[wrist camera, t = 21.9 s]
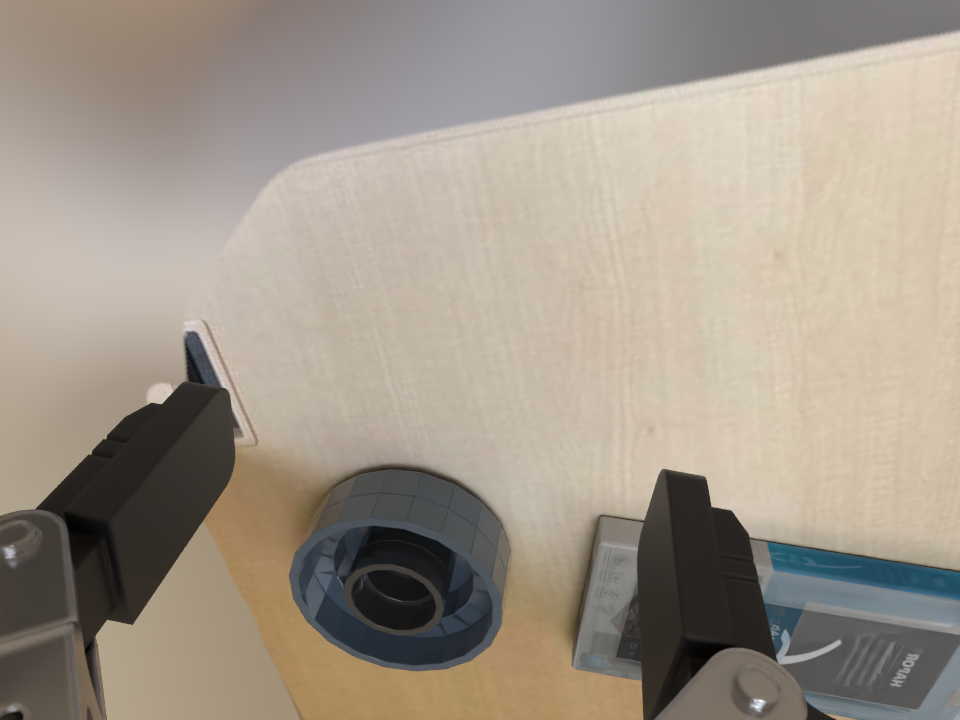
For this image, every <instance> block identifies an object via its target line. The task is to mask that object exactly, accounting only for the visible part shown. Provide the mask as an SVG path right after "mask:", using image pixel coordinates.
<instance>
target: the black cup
mask: <svg viewBox="0 0 960 720" xmlns="http://www.w3.org/2000/svg"><path fill="white" fill-rule="evenodd" d="M455 563H456V562H455V557H454V552H453V551H452V550H451V549H449V548H448V547H446V546H445V545H443V544H442V543H440V542H438V541H436V540H433V539H431V538H428V537H425V536H422V535H419V534H416V533H414V532H411V531H408V530H405V529H398V528H389V527H381V526H372V527H371V528H370V529H369V530H368V531H367V532H366V534H365V535H364V536H363V539H362V541H361V544H360V546H359V549H358V551H357V554H356V556H355V559H354V561H353V564H352V566H351V569H350V571H349V574H348V576H347V579H346V582H345V587H344V592H343V593H344V597H345V600H346V603H347V605H348V607H349V609H350V610H351V611H352V612H353V613H354V614H355V616H356V617H357V618H358V619H359V620H360V621H362V622H364V623H365V624H367V625H369V626H370V627H372V628H374V629H376V630H379V631H382V632H386V633H389V634H393V635H416V634H420V633H423V632H427V631H429V630H431V629H432V628H433V627H434V626H435V625H436V624H438V623H439V622H440V621H441V618H442V615H443V612H444V609H445V604H446V600H447V596H448V592H449V588H450V583H451V579H452V575H453V571H454V567H455Z"/></svg>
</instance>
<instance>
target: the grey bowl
mask: <svg viewBox="0 0 960 720" xmlns="http://www.w3.org/2000/svg"><path fill="white" fill-rule="evenodd" d="M372 526H381V527H389V528H398V529H405V530H408V531H411V532H414V533H416V534H419V535H422V536H425V537H428V538H431V539H433V540H436V541H438V542H440V543H442V544H443V545H445V546H446V547H448V548H449V549H451V550H452V551H453V552H454V557H455V562H456V563H455V567H454V571H453V575H452V579H451V583H450V588H449V592H448V596H447V600H446V604H445V609H444V612H443V615H442V618H441V621H440V622H439V623H438V624H436V625H435V626H434V627H433V628H432V629H431V630H429V631H427V632H423V633H420V634H416V635H393V634H389V633H386V632H382V631H379V630H376V629H374V628H372V627H370V626H369V625H367V624H365V623H364V622H362V621H360V620H359V619H358V618H357V617H356V616H355V614H354V613H353V612H352V611H351V610H350V609H349V607H348V605H347V603H346V600H345V597H344V593H343V592H344V587H345V582H346V579H347V576H348V574H349V571H350V569H351V566H352V564H353V561H354V559H355V556H356V554H357V551H358V549H359V546H360V544H361V541H362V539H363V536H364V535H365V534H366V532H367V531H368V530H369V529H370V528H371V527H372ZM510 555H511V549H510V546H509V543H508V540H507V538H506V535H505V533H504V530H503V528H502V525H501V523H500V522H499V521H498V520H497V519H496V518H495V516H494V515H493V514H492V513H491V512H490V511H489V509H488V508H487V507H486V506H485V505H484V503H483V502H481V501H480V500H479V499H477V498H476V497H474V496H473V495H471V494H470V493H468V492H467V491H465V490H464V489H462V488H461V487H459V486H458V485H456V484H455V485H454V483H451V482H448V481H445V480H443V479H440V478H437V477H434V476H431V475H428V474H426V473H423V472H415V471H405V470H395V469H390V470H389V469H388V470H381V471H375V472H369V473H363V474H360V475H356V476H354V477H353V478H351V479H349V480H347V481H345V482H343V483H341V484H339V485H337V486H335V487H334V488H333V489H332V490H331V491H330V493H329V494H328V495H327V496H326V497H325V498H324V499H323V501H322V502H321V503H320V504H319V506H318V508H317V510H316V512H315V514H314V516H313V518H312V520H311V522H310V524H309V526H308V528H307V530H306V532H305V534H304V536H303V538H302V540H301V542H300V544H299V546H298V548H297V550H296V552H295V555H294V558H293V562H292V566H291V569H290V573H289V579H290V584H291V589H292V595H293V599H294V601H295V603H296V604H297V606H298V608H299V609H300V611H301V613H302V614H303V616H304V618H305V619H306V621H307V622H308V623H309V624H310V625H311V626H312V627H313V628H314V629H316V630H317V631H318V632H319V633H320V634H321V635H322V636H323V637H324V638H325V639H326V640H327V641H328V642H330V643H332V644H333V645H335V646H337V647H338V648H340V649H342V650H344V651H345V652H347V653H349V654H350V655H352V656H354V657H356V658H359V659H362V660H365V661H368V662H371V663H374V664H377V665H379V666H382V667H387V668H394V669H402V670H409V671H428V670H441V669H448V668H451V667H454V666H457V665H460V664H462V663H465V662H468V661H471V660H472V659H474V658H475V657H476V656H477V655H479V654H480V653H481V652H483V651H484V650H485V649H487V648H488V647H489V646H490V645H491V644H492V642H493V640H494V638H495V636H496V635H497V633H498V631H499V629H500V627H501V625H502V620H503V613H504V607H505V600H506V594H507V587H508V580H509V574H510Z"/></svg>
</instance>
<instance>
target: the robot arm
mask: <svg viewBox="0 0 960 720" xmlns="http://www.w3.org/2000/svg"><path fill="white" fill-rule="evenodd" d="M234 463H235V444H234V432H233V421H232V409H231V399H230V394H229V392H228V390H227V389H225V388H220V387H215V386H209V385H204V384H198V383H193V382H183V383H182V384H181V385H179V386H178V388H177V389H176V390H175V391H174V392H173V393H172V394H171V395H170V396H169V397H168V398H167V399H166V401H165V402H164V403H163V404H162V405H161V404H156V403H150V404H149V405H147V406H145V407H143V408H141V409H139V410H137V411H136V412H134V413H132V414H130V415H128V416H126V417H125V418H124V419H123V420H122V421H121V422H120V423H119V424H118V425H117V426H116V427H115V428H114V429H113V430H112V431H111V432H110V433H109V434H108V435H107V439H106V440H105V439H103V440H102V441H101V442H100V443H99V444H98V445H97V446H96V448H95V449H93V451H92V454H91V455H88V456H87V457H86V458H85V459H84V460H83V461H82V462H81V463H80V464H79V465H78V466H77V467H76V468H75V469H74V470H73V471H72V472H71V473H70V474H69V475H68V476H67V477H66V478H65V479H64V480H63V481H62V482H61V483H60V485H58V486H57V488H55V490H53V492H52V493H51V494H50V495H49V496H48V497H47V498H46V499H45V500H44V501H43V502H42V503H41V504H40V505H39V506H38V507H37V508H36V509H35V510H21V511H16V512H12V513H8V514H5V515H2V516H0V720H107V715H106V708H105V700H104V692H103V684H102V676H101V668H100V660H99V652H98V645H97V641H96V637H95V636H96V634H97V633H98V631H99V630H100V629H101V627H102V626H103V624H104V623H105V622H106V620H112V621H117V622H121V623H126V624H131V625H133V623H134V622H135V620H136V619H137V618H138V616H139V615H140V613H141V612H142V610H143V609H144V607H145V606H146V604H147V603H148V601H149V600H150V598H151V597H152V595H153V594H154V592H155V591H156V589H157V588H158V586H159V585H160V584H161V582H162V580H163V579H164V578H165V576H166V575H167V573H168V572H169V570H170V569H171V567H172V566H173V564H174V563H175V561H176V560H177V558H178V557H179V555H180V554H181V552H182V551H183V550H184V548H185V547H186V545H187V544H188V542H189V541H190V539H191V538H192V536H193V535H194V533H195V532H196V530H197V529H198V527H199V526H200V524H201V523H202V522H203V520H204V519H205V517H206V516H207V514H208V513H209V511H210V510H211V508H212V507H213V505H214V504H215V502H216V501H217V499H218V498H219V496H220V495H221V493H222V492H223V490H224V489H225V488H226V486H227V484H228V482H229V480H230V478H231V475H232V472H233V468H234ZM753 561H754V556H753V552H752V548H751V543H750V539H749V534H748V533H747V532H746V530H745V529H744V527H743V526H742V525H741V523H740V522H739V520H738V519H737V518H736V516H735V515H734V513H733V512H732V511H730V510H725V509H719V508H714V507H711V502H710V496H709V490H708V485H707V480H706V478H705V477H704V476H700V475H694V474H688V473H683V472H677V471H672V470H666V469H662V470H661V472H660V474H659V476H658V479H657V482H656V485H655V489H654V492H653V495H652V498H651V501H650V505H649V508H648V511H647V514H646V517H645V521H644V524H643V527H642V530H641V534H640V539H639V545H638V553H637V580H638V603H639V625H640V648H641V671H642V694H643V716H644V720H836V719H833V718H831V717H830V716H828V715H826V714H824V713H822V712H821V711H819V710H818V709H816V708H815V707H813V706H812V705H811V704H809V703H808V702H807V701H806V699H805V696H804V694H803V691H802V690H801V688H800V686H799V684H798V683H797V681H796V680H795V679H794V678H793V676H792V675H791V674H790V673H789V672H788V671H787V670H786V669H785V668H784V667H783V666H781V665H780V664H779V663H778V660H777V657H776V653H775V648H774V644H773V640H772V635H771V631H770V626H769V622H768V618H767V613H766V609H765V605H764V600H763V596H762V591H761V587H760V584H758V579H759V578H758V574H757V570H756V565H755V563H753Z"/></svg>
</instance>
